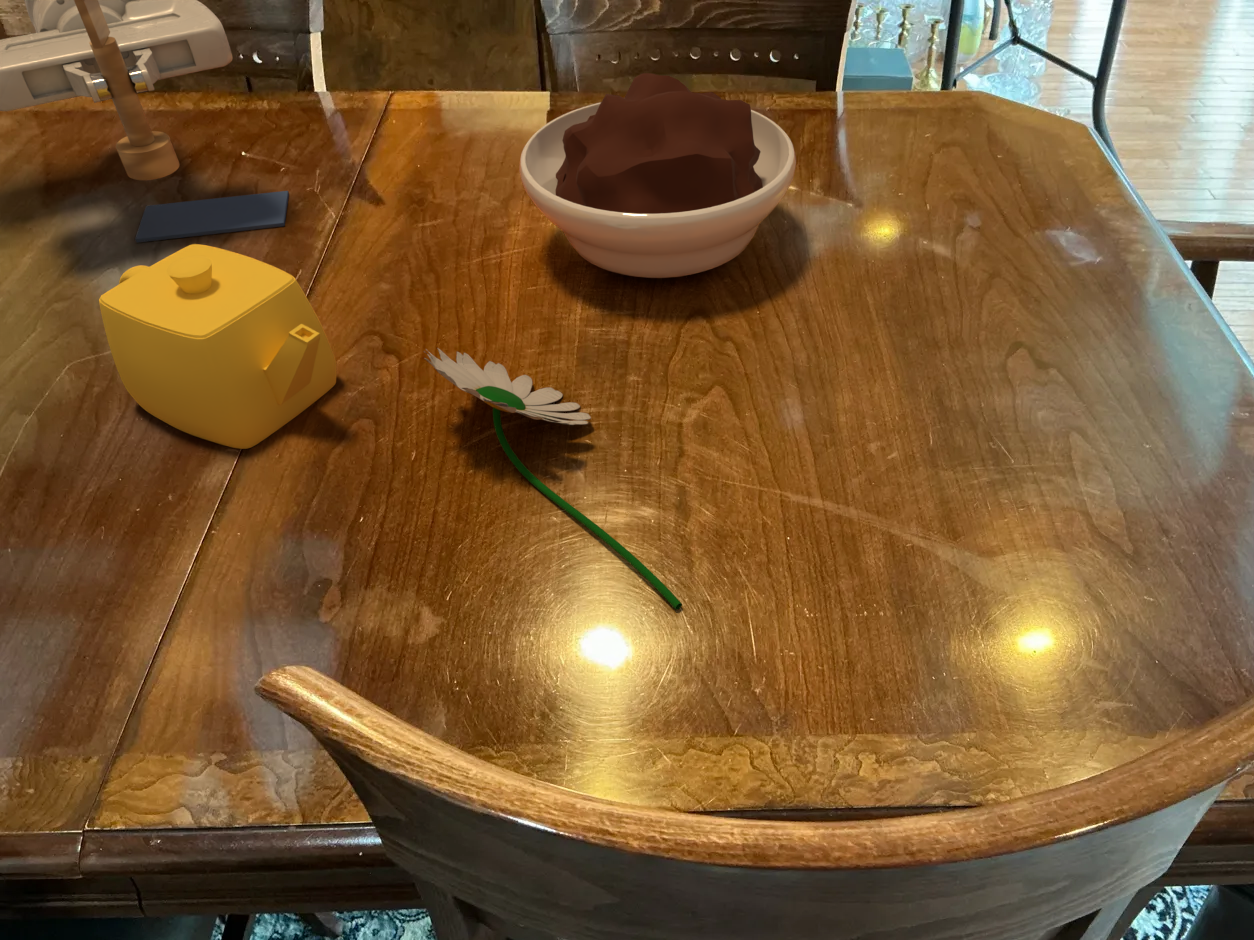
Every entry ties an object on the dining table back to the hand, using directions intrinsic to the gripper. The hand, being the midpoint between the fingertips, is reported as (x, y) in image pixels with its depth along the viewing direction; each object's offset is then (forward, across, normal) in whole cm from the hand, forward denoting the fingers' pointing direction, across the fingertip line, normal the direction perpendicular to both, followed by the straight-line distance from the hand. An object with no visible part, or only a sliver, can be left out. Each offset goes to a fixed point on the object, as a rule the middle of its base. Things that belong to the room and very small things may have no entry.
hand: (121, 87), depth 90 cm
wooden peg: (-1, 0, +8) cm, 8 cm away
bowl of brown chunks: (+20, +39, +17) cm, 48 cm away
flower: (+47, +15, +17) cm, 52 cm away
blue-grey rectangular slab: (-9, +4, +17) cm, 19 cm away
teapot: (+24, -1, +17) cm, 29 cm away
